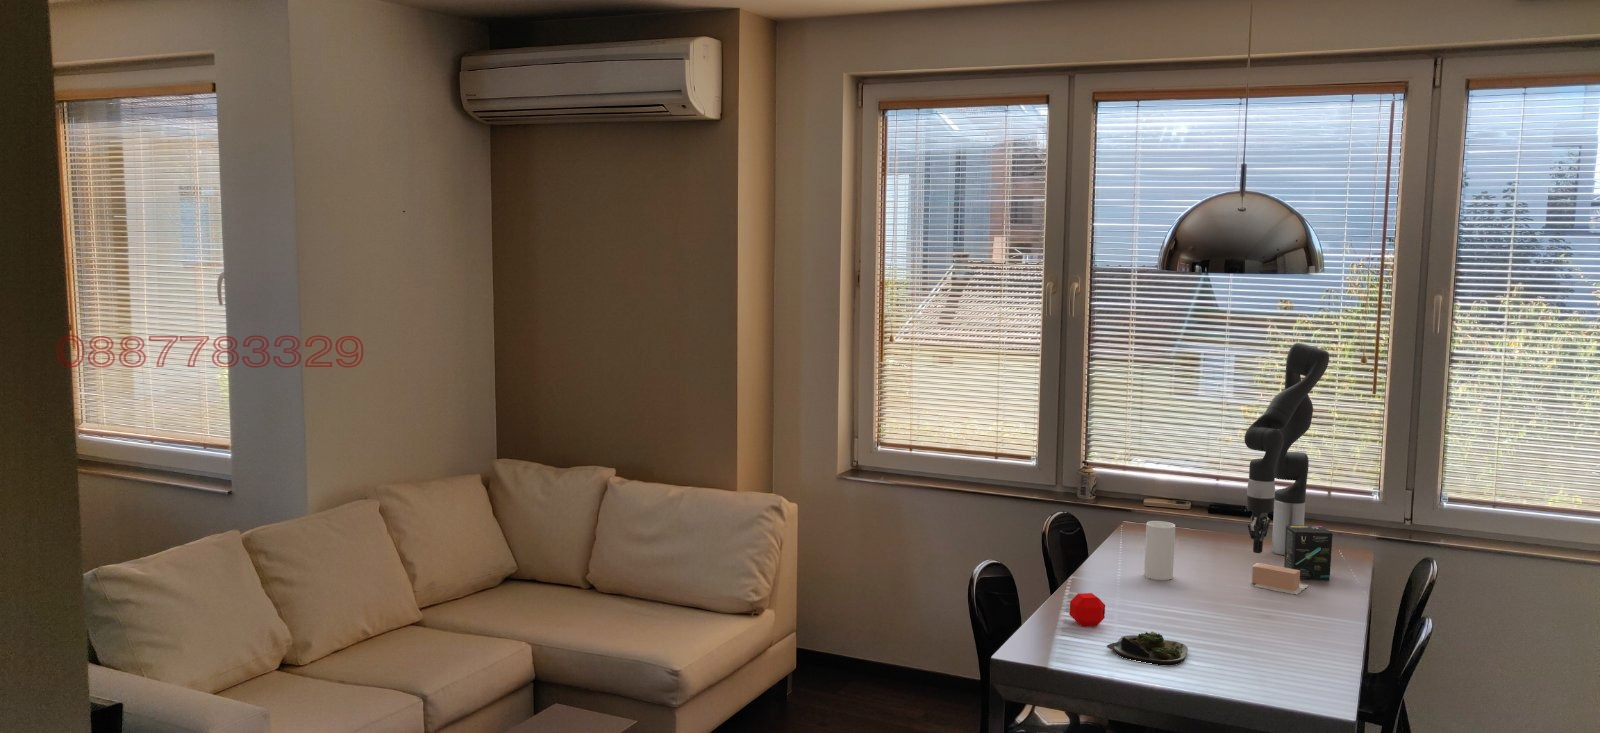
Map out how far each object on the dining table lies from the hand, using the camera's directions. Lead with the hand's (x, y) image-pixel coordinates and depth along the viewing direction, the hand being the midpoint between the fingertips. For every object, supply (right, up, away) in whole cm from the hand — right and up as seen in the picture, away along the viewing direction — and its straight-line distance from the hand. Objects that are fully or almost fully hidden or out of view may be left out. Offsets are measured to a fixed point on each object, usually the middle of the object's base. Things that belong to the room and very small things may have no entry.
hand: (1257, 552), depth 334 cm
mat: (+6, -9, -3) cm, 11 cm away
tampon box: (+18, -9, +9) cm, 22 cm away
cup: (-28, -8, +6) cm, 29 cm away
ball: (-60, -12, -40) cm, 73 cm away
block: (0, -6, +1) cm, 6 cm away
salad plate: (-51, -15, -61) cm, 81 cm away
